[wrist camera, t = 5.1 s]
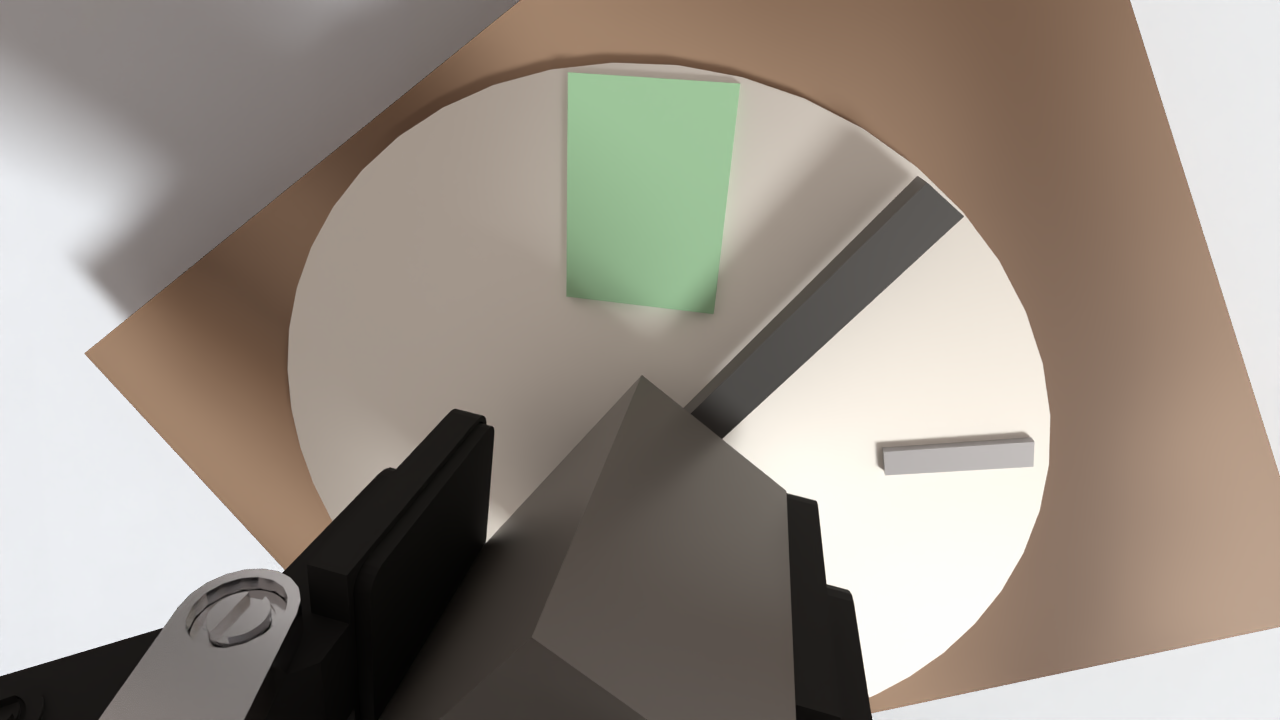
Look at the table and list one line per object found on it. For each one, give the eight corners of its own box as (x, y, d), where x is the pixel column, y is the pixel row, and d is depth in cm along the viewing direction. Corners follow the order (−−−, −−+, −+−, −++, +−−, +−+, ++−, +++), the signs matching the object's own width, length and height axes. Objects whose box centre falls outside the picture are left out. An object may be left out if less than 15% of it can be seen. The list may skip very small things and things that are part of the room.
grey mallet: (603, 599, 14) (484, 977, 8) (494, 518, 13) (286, 855, 8) (1004, 256, 9) (1384, 552, 4) (856, 120, 9) (1015, 205, 3)
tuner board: (516, 729, 20) (492, 793, 18) (160, 322, 16) (84, 353, 14) (1248, 542, 13) (1324, 617, 11) (957, -298, 9) (1005, -393, 7)
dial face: (548, 768, 17) (544, 781, 17) (161, 324, 13) (146, 330, 13) (1158, 633, 12) (1168, 647, 12) (814, -183, 8) (816, -194, 8)
